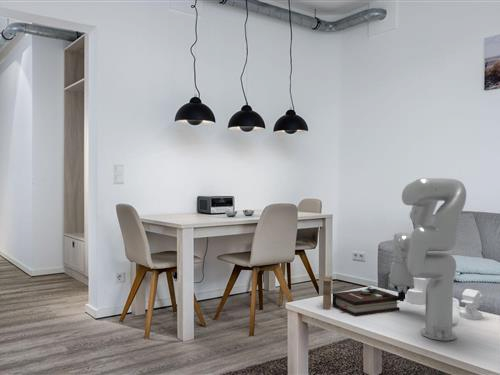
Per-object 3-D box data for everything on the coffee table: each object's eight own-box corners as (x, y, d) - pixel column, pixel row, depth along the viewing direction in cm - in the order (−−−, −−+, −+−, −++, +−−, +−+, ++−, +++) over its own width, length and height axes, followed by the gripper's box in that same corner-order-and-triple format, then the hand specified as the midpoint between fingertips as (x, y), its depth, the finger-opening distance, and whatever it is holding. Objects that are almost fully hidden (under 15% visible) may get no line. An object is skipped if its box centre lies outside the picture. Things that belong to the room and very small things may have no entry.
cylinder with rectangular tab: (403, 301, 218) (403, 277, 218) (411, 298, 224) (412, 275, 224) (420, 305, 211) (420, 280, 211) (429, 302, 217) (429, 278, 217)
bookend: (330, 309, 202) (330, 281, 202) (323, 308, 203) (323, 280, 203) (331, 303, 213) (332, 276, 213) (324, 302, 214) (325, 276, 214)
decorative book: (326, 291, 208) (377, 286, 220) (326, 307, 208) (377, 301, 220) (352, 301, 190) (405, 295, 202) (351, 318, 190) (405, 311, 202)
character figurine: (485, 317, 193) (486, 290, 193) (474, 321, 187) (475, 293, 187) (466, 313, 200) (466, 286, 200) (454, 316, 194) (455, 289, 194)
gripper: (418, 259, 202) (418, 299, 202) (384, 258, 206) (383, 297, 206) (420, 262, 195) (420, 304, 195) (385, 260, 198) (384, 301, 198)
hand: (401, 300), depth 200 cm, fingers closed
